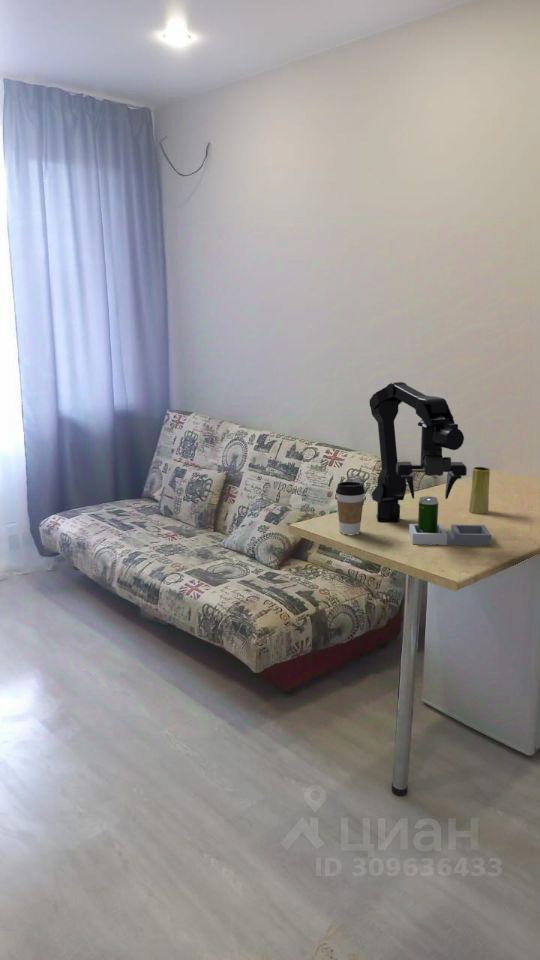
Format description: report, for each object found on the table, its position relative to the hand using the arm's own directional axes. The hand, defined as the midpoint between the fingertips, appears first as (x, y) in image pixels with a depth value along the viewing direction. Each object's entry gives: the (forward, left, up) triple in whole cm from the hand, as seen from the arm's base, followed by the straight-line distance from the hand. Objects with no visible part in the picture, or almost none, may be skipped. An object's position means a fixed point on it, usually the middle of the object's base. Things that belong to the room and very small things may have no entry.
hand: (429, 498), depth 197 cm
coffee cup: (-22, +5, -12) cm, 26 cm away
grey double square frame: (+6, 0, -12) cm, 13 cm away
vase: (+20, +29, -12) cm, 37 cm away
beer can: (0, 0, -12) cm, 12 cm away
